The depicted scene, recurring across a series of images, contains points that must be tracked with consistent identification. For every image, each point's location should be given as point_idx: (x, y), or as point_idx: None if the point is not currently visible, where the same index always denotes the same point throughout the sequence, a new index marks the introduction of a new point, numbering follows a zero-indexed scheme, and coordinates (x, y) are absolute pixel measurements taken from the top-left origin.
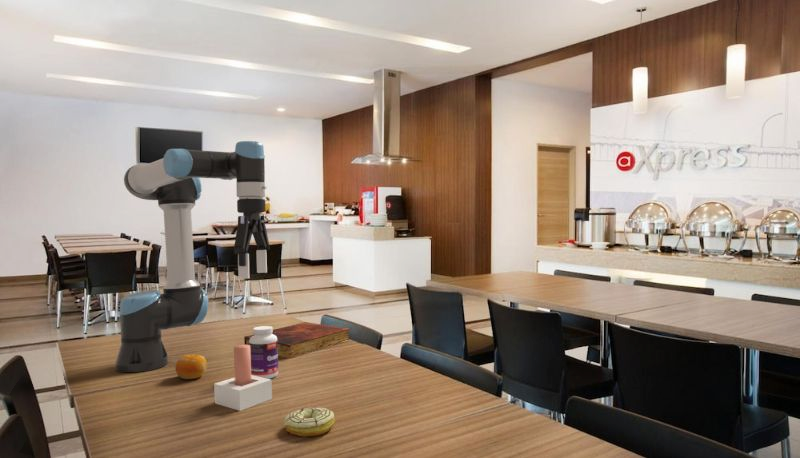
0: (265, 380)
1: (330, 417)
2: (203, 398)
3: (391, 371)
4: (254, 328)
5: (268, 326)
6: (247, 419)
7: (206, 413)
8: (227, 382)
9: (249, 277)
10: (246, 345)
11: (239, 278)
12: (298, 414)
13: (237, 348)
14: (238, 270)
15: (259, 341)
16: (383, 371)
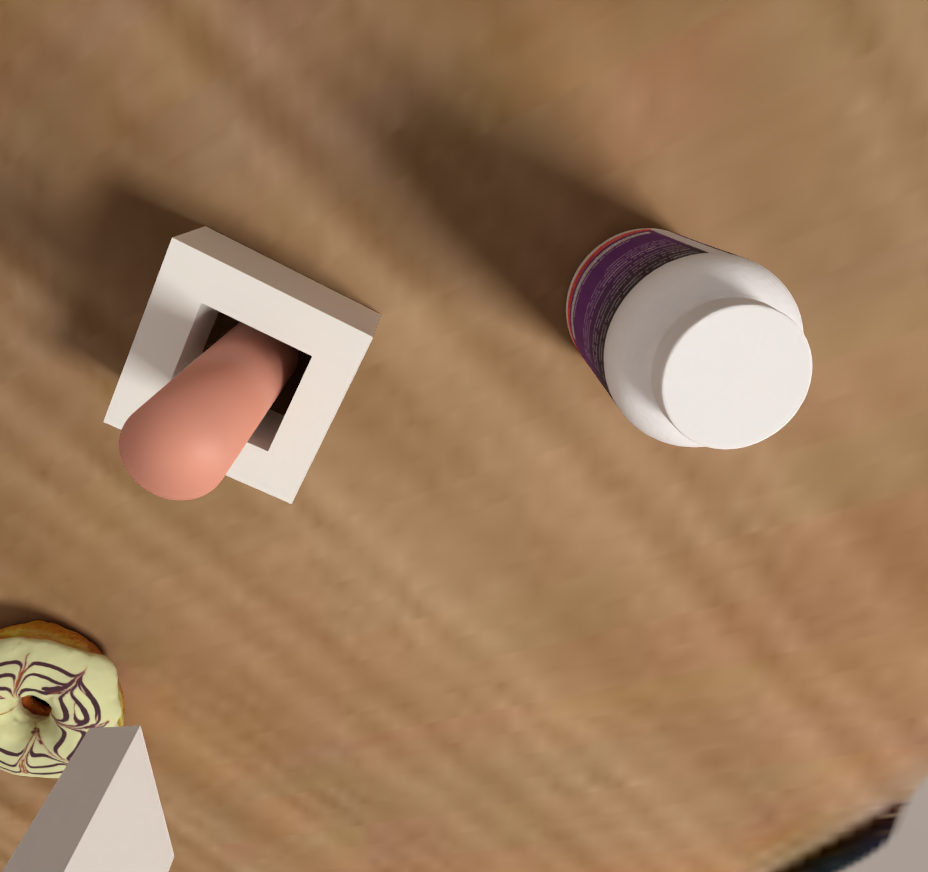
0: (274, 480)
1: (35, 775)
2: (261, 125)
3: (696, 799)
4: (717, 320)
5: (788, 402)
6: (66, 456)
7: (77, 251)
8: (207, 302)
9: (164, 867)
10: (206, 468)
11: (92, 742)
12: (3, 692)
13: (119, 443)
14: (14, 859)
15: (611, 367)
16: (697, 775)
